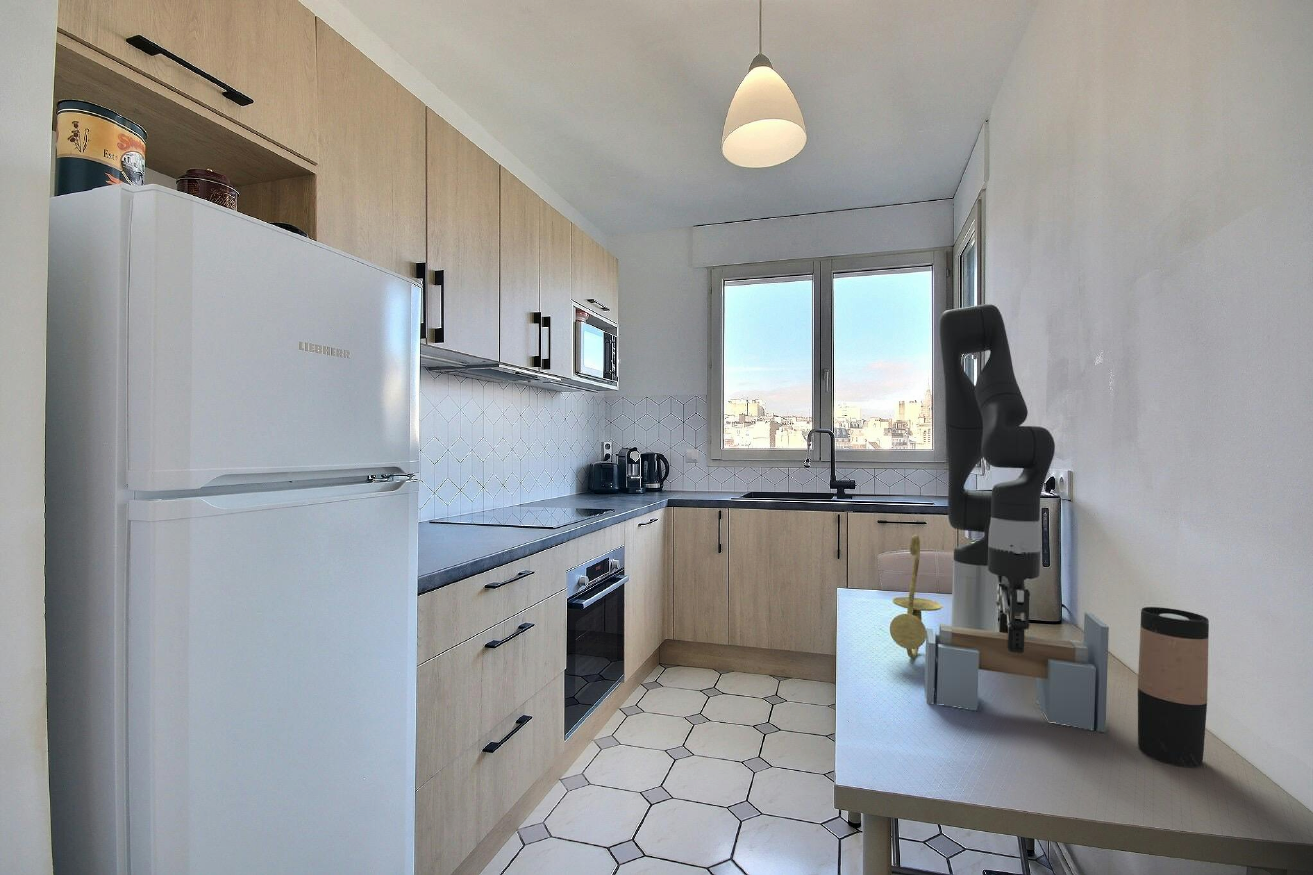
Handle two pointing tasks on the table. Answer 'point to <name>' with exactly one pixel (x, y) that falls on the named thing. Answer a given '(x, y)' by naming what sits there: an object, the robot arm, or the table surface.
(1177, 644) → the travel mug
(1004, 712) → the table surface
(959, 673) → the pair of grey brackets
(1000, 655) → the brown wooden bar
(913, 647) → the wall sconce
